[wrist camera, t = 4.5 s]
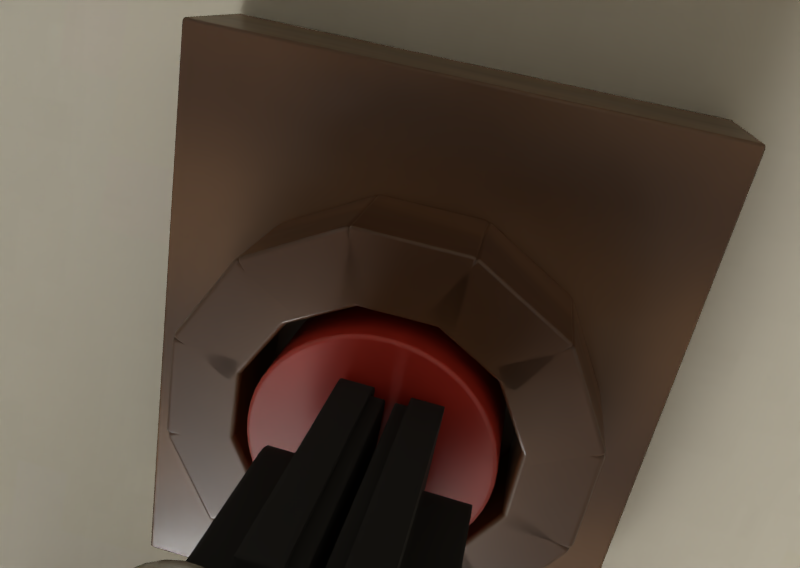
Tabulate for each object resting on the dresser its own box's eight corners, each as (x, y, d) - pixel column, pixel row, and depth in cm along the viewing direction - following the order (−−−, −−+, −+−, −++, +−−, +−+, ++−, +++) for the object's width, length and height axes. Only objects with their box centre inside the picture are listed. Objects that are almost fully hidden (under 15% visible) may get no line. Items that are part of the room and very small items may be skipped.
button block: (238, 12, 13) (117, 19, 10) (734, 120, 12) (807, 172, 9) (196, 484, 18) (102, 610, 14) (560, 593, 17) (560, 759, 13)
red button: (297, 264, 12) (258, 305, 11) (532, 324, 12) (527, 376, 10) (271, 456, 14) (234, 515, 12) (476, 515, 13) (465, 586, 12)
